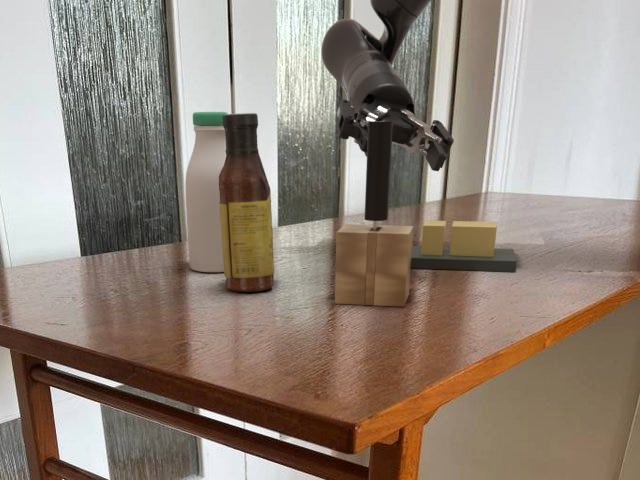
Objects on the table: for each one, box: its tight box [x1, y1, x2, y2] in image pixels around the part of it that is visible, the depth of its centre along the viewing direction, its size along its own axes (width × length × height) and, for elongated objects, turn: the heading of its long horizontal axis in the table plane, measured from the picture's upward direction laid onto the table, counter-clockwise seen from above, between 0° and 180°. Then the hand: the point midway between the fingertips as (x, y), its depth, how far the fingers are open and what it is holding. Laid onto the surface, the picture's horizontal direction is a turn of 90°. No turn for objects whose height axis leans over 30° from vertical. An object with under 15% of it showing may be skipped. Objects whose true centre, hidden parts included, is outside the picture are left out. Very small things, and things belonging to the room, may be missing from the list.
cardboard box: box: [334, 224, 414, 308], centre depth 87 cm, size 8×6×8 cm
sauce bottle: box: [219, 112, 275, 293], centre depth 90 cm, size 7×6×20 cm
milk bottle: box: [184, 111, 228, 273], centre depth 102 cm, size 8×8×20 cm
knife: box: [364, 121, 393, 231], centre depth 85 cm, size 3×3×19 cm
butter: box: [411, 220, 517, 273], centre depth 107 cm, size 16×10×6 cm, turn 77°
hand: (406, 156), depth 89 cm, fingers open, 8 cm apart
